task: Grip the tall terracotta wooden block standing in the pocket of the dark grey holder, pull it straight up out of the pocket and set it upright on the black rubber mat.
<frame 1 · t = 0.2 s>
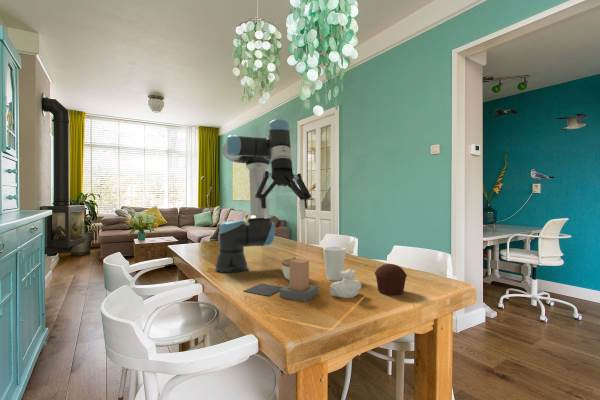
hand: (285, 218, 105), 28 cm above the table, tool tilted 15°, fingers open, 13 cm apart
block: (299, 294, 107), resting on holder
muffin: (390, 292, 113), on the table
bust: (346, 298, 107), on the table
foam cup: (334, 279, 131), on the table
lidded jar: (294, 280, 129), on the table
mat: (264, 291, 113), on the table
holder: (299, 296, 107), on the table
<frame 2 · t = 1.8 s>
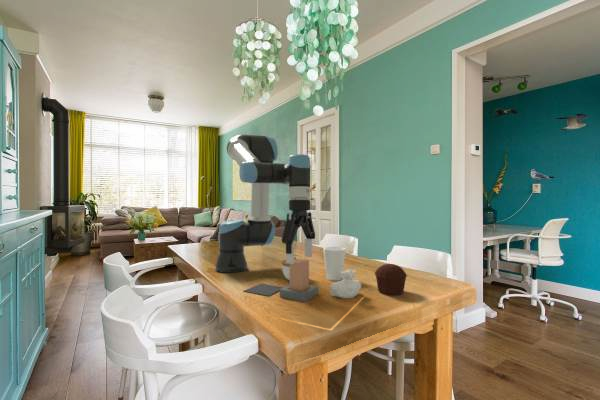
hand: (299, 259, 107), 13 cm above the table, tool pointing down, fingers open, 13 cm apart
nothing on the table moved.
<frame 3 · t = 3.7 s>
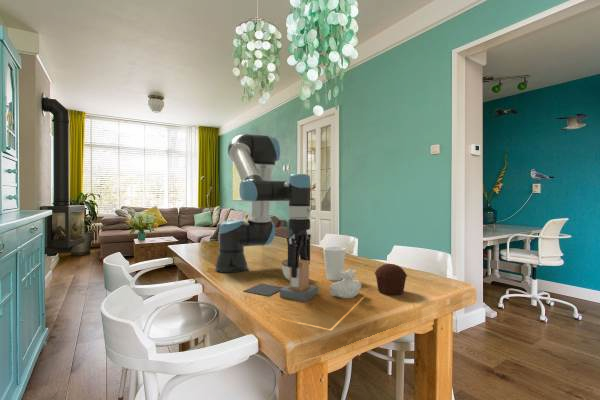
hand: (299, 284, 107), 4 cm above the table, tool pointing down, fingers closed on block, 5 cm apart
block: (299, 294, 107), point 1 cm above the table, touching gripper, holder
everything else where it was.
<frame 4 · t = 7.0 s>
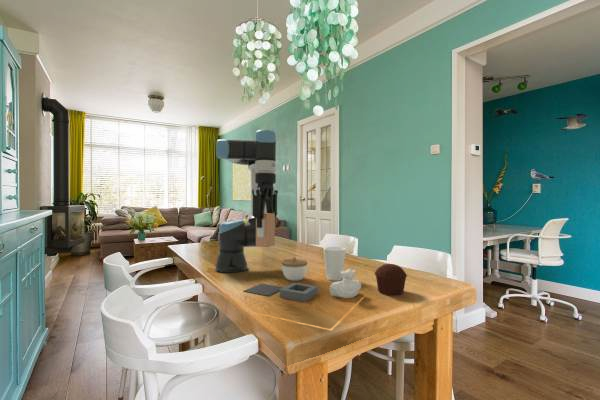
hand: (265, 235, 113), 21 cm above the table, tool pointing down, fingers closed on block, 5 cm apart
block: (265, 245, 113), point 17 cm above the table, touching gripper
everything else where it was.
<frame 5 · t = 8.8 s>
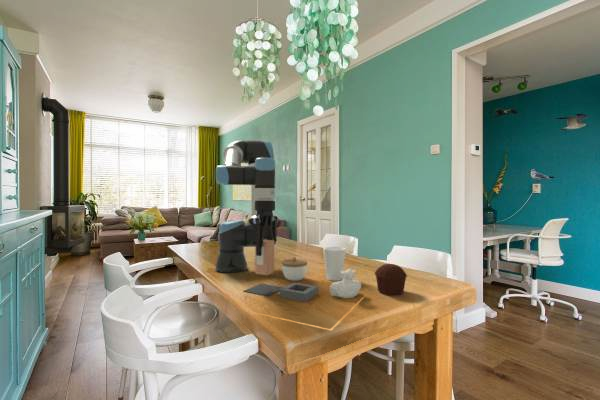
hand: (264, 262, 113), 11 cm above the table, tool pointing down, fingers closed on block, 5 cm apart
block: (264, 272, 113), point 7 cm above the table, touching gripper
everything else where it was.
when the fingers open (6 cm above the table, at t = 10.4 s): block drops 2 cm, resting on mat.
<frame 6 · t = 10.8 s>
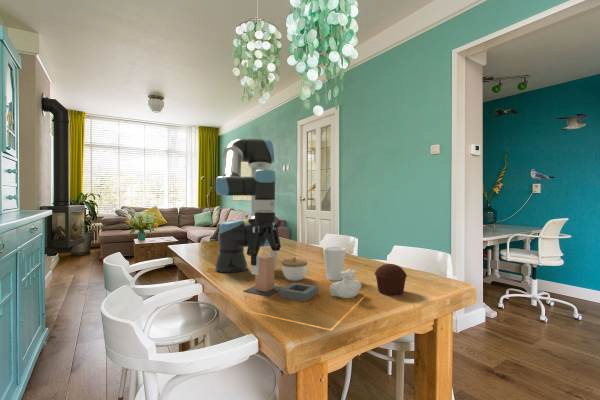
hand: (264, 270, 113), 8 cm above the table, tool pointing down, fingers open, 11 cm apart
block: (264, 289, 113), point 1 cm above the table, touching mat
everything else where it was.
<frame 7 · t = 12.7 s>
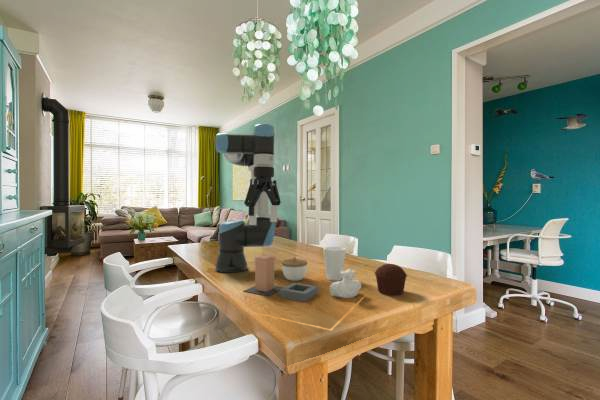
hand: (263, 223, 115), 25 cm above the table, tool pointing down, fingers open, 13 cm apart
nothing on the table moved.
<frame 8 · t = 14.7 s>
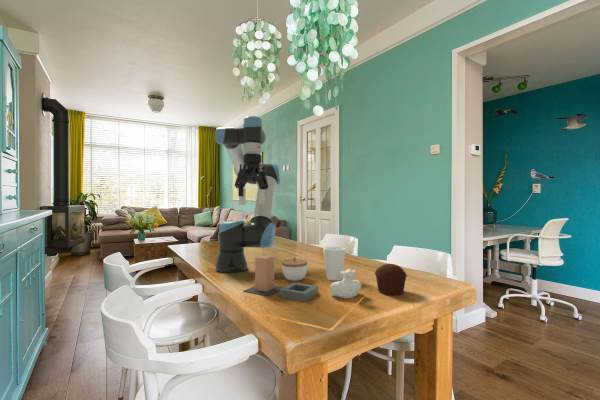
hand: (252, 204, 129), 32 cm above the table, tool pointing down, fingers open, 13 cm apart
nothing on the table moved.
at the end: block 0.0 cm off-centre on the mat, point 0.8 cm above the mat's base; block tilted 0°; the gripper is holding nothing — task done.
